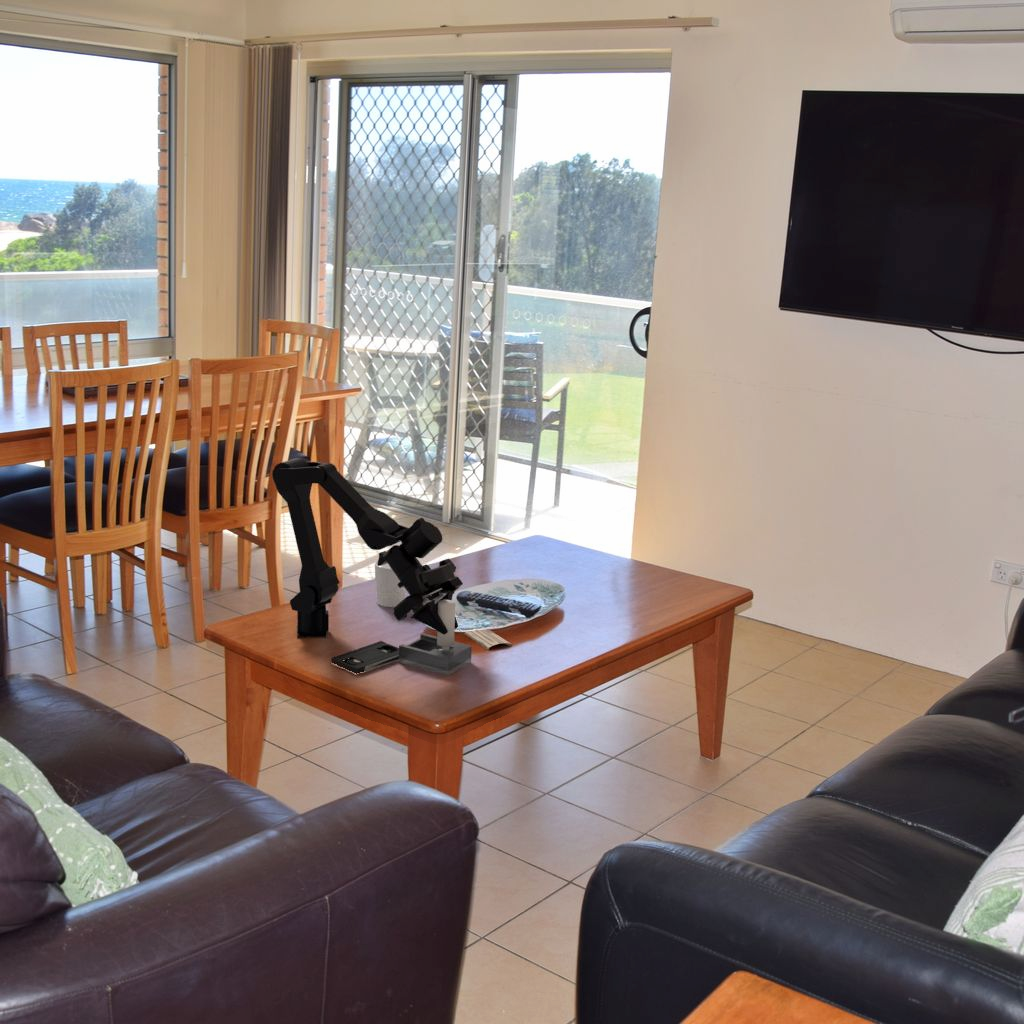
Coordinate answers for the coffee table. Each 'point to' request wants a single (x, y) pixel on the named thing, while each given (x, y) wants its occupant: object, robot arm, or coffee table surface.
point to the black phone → (367, 657)
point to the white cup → (387, 586)
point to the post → (446, 623)
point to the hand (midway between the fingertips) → (451, 630)
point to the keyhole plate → (435, 655)
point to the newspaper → (486, 638)
